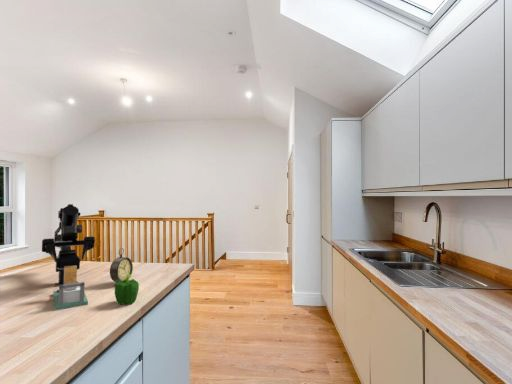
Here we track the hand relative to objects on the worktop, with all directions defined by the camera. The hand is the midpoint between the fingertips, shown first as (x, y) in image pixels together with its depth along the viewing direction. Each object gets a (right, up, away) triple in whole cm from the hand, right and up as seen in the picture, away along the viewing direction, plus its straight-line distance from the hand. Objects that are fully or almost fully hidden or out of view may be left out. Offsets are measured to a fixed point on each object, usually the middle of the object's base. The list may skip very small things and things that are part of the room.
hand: (69, 260), depth 118 cm
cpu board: (+5, -13, -8) cm, 16 cm away
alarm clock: (+15, -14, +13) cm, 24 cm away
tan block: (+6, -12, -9) cm, 16 cm away
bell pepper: (+28, -14, -10) cm, 33 cm away
